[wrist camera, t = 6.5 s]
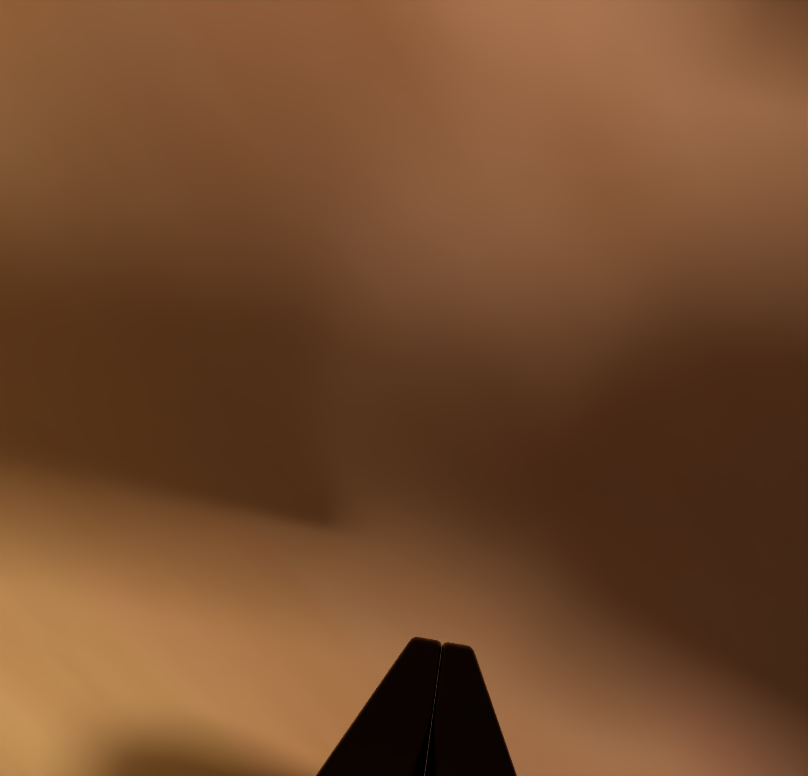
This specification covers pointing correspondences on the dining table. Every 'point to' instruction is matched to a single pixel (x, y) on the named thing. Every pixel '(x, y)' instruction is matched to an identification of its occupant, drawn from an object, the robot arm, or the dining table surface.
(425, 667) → the robot arm
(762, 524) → the dining table surface
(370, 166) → the dining table surface
